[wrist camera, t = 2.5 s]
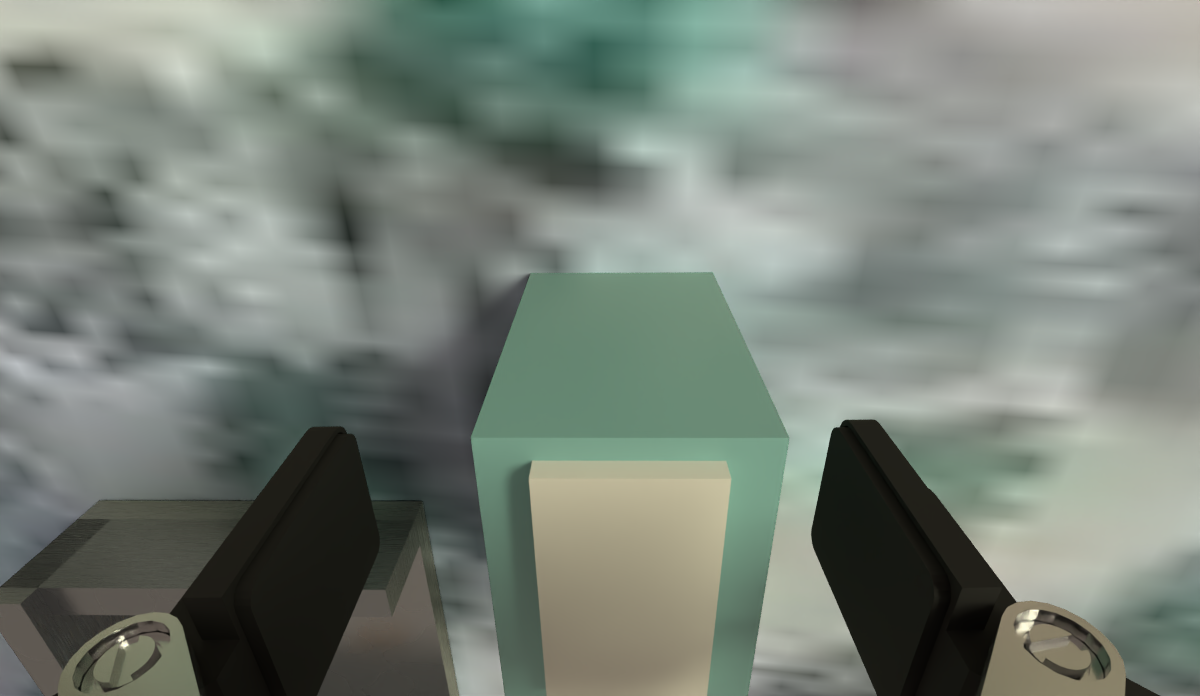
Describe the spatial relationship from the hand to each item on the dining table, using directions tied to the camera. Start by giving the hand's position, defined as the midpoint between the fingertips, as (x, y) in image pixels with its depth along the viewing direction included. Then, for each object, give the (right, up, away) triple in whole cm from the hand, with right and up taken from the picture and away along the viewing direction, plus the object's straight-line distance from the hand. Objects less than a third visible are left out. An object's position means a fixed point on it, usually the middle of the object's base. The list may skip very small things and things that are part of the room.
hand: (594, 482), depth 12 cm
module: (+1, +2, +4) cm, 5 cm away
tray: (-10, -6, +8) cm, 15 cm away
